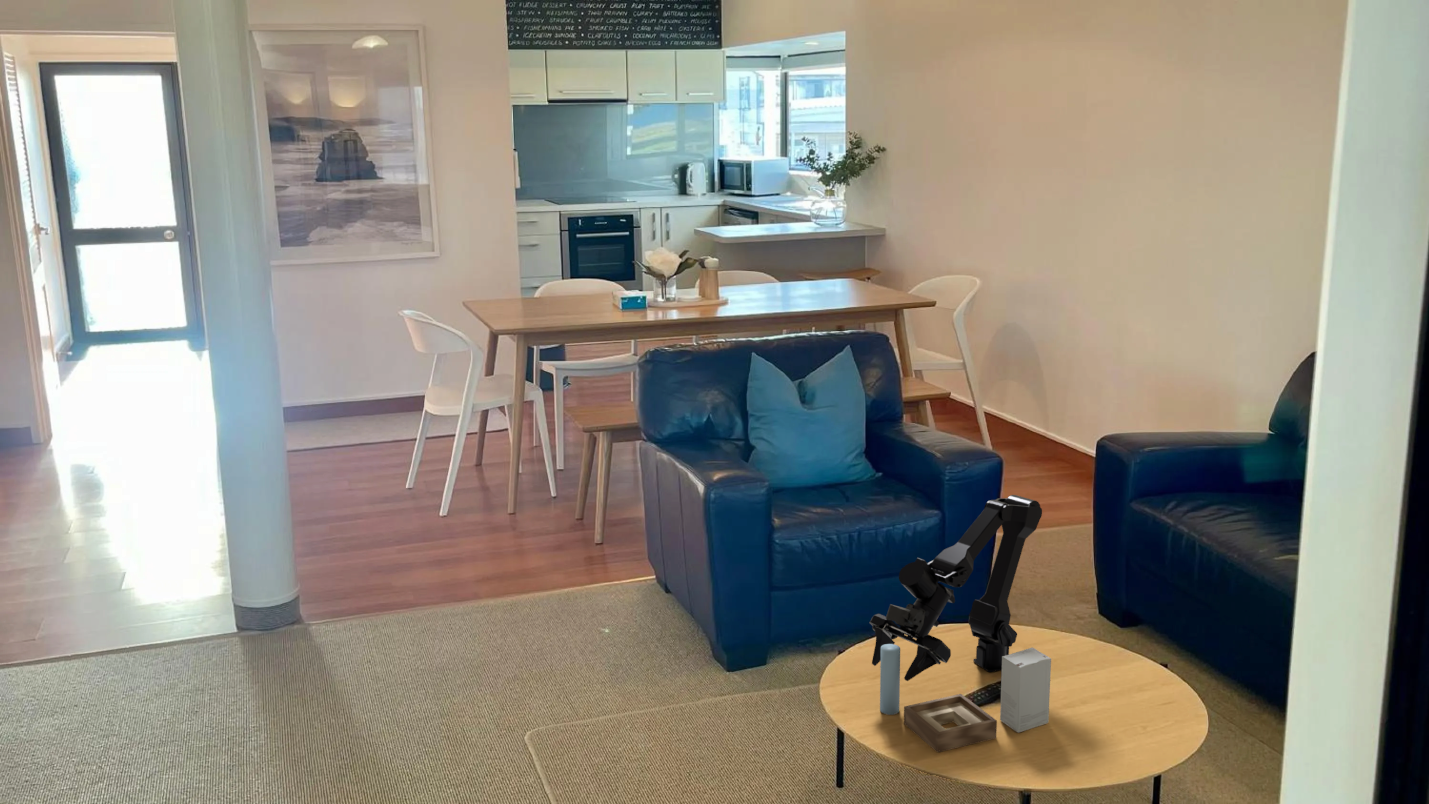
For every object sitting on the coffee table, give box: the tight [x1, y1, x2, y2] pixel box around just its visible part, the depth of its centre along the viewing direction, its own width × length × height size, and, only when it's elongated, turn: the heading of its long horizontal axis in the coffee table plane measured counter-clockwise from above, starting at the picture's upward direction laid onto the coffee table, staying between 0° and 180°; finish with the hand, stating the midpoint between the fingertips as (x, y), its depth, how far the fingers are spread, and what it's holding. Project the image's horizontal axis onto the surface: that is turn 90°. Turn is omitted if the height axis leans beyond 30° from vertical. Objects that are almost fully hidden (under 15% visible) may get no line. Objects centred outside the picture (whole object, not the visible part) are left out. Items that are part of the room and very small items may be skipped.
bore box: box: [903, 693, 998, 753], centre depth 237 cm, size 14×13×4 cm
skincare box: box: [999, 647, 1052, 733], centre depth 238 cm, size 8×6×15 cm
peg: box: [879, 643, 901, 716], centre depth 244 cm, size 4×4×14 cm
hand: (889, 672), depth 244 cm, fingers open, 9 cm apart
